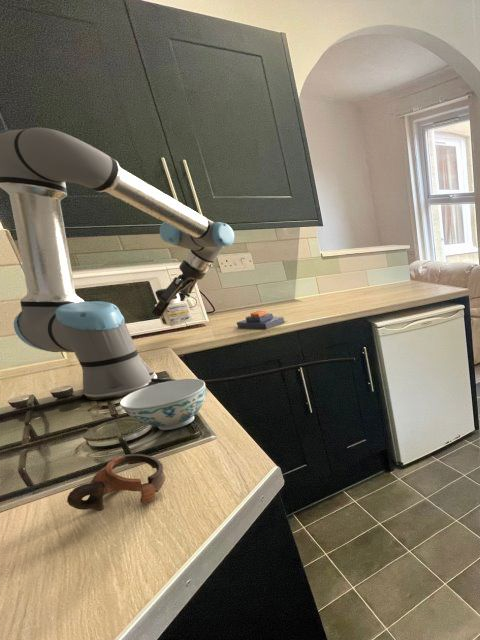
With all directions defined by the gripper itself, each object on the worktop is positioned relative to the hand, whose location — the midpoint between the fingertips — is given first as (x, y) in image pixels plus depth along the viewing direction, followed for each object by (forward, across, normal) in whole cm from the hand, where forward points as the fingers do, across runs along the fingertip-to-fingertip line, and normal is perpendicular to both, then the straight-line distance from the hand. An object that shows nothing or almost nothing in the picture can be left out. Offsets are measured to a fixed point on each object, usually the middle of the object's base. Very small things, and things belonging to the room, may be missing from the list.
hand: (164, 310), depth 157 cm
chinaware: (-21, -80, -35) cm, 90 cm away
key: (-15, +8, -25) cm, 30 cm away
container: (+2, 0, -6) cm, 6 cm away
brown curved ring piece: (-25, -109, -40) cm, 119 cm away
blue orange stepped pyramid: (-13, +8, -28) cm, 31 cm away
